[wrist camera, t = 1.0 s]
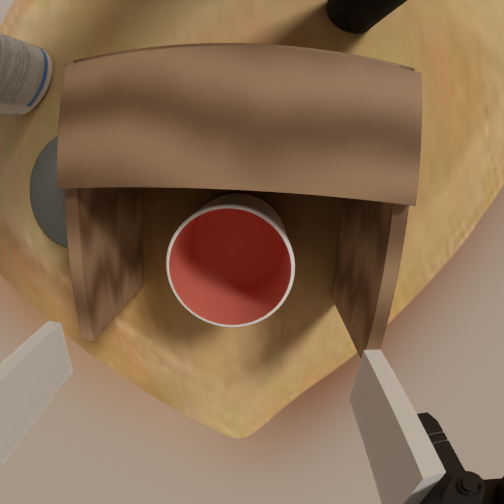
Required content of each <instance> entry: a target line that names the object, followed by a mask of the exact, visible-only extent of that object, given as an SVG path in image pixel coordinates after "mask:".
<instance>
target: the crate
mask: <svg viewBox="0 0 504 504" xmlns="http://www.w3.org/2000/svg"><path fill="white" fill-rule="evenodd" d="M421 125H422V87H421V73H419V72H415V71H414V69H413V68H410V67H406V66H402V65H398V64H394V63H390V62H386V61H382V60H378V59H373V58H368V57H363V56H358V55H353V54H347V53H342V52H335V51H329V50H322V49H314V48H306V47H296V46H285V45H272V44H251V43H205V44H184V45H171V46H160V47H150V48H142V49H135V50H128V51H121V52H115V53H109V54H104V55H99V56H94V57H89V58H84V59H80V60H76V61H74V63H73V64H68V65H66V66H65V72H64V79H63V87H62V95H61V104H60V115H59V128H58V148H57V189H63V188H65V210H66V227H67V240H68V251H69V261H70V269H71V277H72V284H73V291H74V298H75V304H76V309H77V315H78V320H79V325H80V330H81V335H82V339H84V340H89V341H95V340H96V339H97V338H98V336H99V335H100V334H101V333H102V332H103V331H104V329H105V328H106V327H107V326H108V325H109V324H110V323H111V321H112V320H113V319H114V318H115V317H116V316H117V315H118V313H119V312H120V311H121V310H122V309H123V308H124V307H125V305H126V304H127V303H128V302H129V301H130V300H131V299H132V298H133V297H134V295H135V294H136V293H137V292H138V291H139V290H140V289H141V288H142V287H143V286H144V273H143V254H142V221H141V187H164V188H204V189H230V190H249V191H266V192H282V193H295V194H308V195H320V196H331V197H342V198H344V200H343V210H342V220H341V229H340V238H339V246H338V254H337V261H336V269H335V276H334V283H333V289H332V296H331V297H332V299H333V301H334V303H335V305H336V307H337V310H338V312H339V314H340V316H341V318H342V320H343V322H344V324H345V326H346V328H347V330H348V332H349V334H350V337H351V339H352V341H353V343H354V345H355V347H356V349H357V351H358V354H359V356H360V358H362V354H363V350H380V348H381V345H382V341H383V337H384V334H385V329H386V326H387V322H388V318H389V314H390V310H391V305H392V301H393V296H394V292H395V287H396V282H397V277H398V272H399V267H400V261H401V256H402V250H403V244H404V237H405V231H406V224H407V216H408V209H409V205H411V206H416V198H417V189H418V178H419V166H420V150H421Z"/></svg>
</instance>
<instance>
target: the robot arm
mask: <svg viewBox="0 0 504 504" xmlns="http://www.w3.org/2000/svg"><path fill="white" fill-rule="evenodd" d="M72 373H73V368H72V365H71V361H70V357H69V354H68V350H67V346H66V342H65V338H64V333H63V329H62V324H61V323H57V322H53V321H48V322H47V323H46V324H44V325H43V326H42V327H41V328H40V329H39V330H37V331H36V332H35V333H34V334H33V335H32V336H31V337H30V338H28V339H27V340H26V341H25V342H24V343H23V344H21V345H20V346H19V347H18V348H17V349H16V350H15V351H14V352H13V353H11V354H10V355H9V356H8V357H7V358H6V359H5V360H4V361H3V362H2V363H1V364H0V461H1V462H3V463H4V464H5V463H6V461H7V460H8V458H9V457H10V455H11V454H12V452H13V451H14V450H15V448H16V447H17V446H18V444H19V443H20V441H21V440H22V438H23V437H24V436H25V434H26V433H27V432H28V430H29V429H30V428H31V426H32V425H33V424H34V422H35V421H36V420H37V418H38V417H39V415H40V414H41V413H42V412H43V410H44V409H45V407H46V406H47V405H48V404H49V402H50V401H51V400H52V398H53V397H54V396H55V395H56V393H57V392H58V391H59V389H60V388H61V387H62V386H63V384H64V383H65V382H66V381H67V379H68V378H69V377H70V376H71V374H72ZM350 402H351V405H352V408H353V411H354V414H355V417H356V421H357V424H358V427H359V430H360V433H361V436H362V439H363V442H364V446H365V449H366V452H367V455H368V458H369V462H370V465H371V468H372V472H373V475H374V478H375V482H376V485H377V488H378V492H379V496H380V499H381V502H382V504H504V476H503V478H501V479H488V480H483V479H481V477H480V476H479V475H477V474H475V473H473V472H469V471H465V470H464V468H463V466H462V465H461V463H460V461H459V459H458V457H457V455H456V453H455V452H454V450H453V448H452V446H451V445H450V442H449V441H447V437H446V436H445V434H444V433H443V430H442V428H441V427H440V425H439V423H438V421H437V420H436V419H434V418H433V417H432V416H431V415H430V414H429V413H420V414H416V412H415V411H414V408H413V407H412V405H411V403H410V401H409V399H408V397H407V396H406V394H405V392H404V390H403V388H402V387H401V385H400V383H399V381H398V379H397V378H396V376H395V374H394V372H393V371H392V369H391V367H390V365H389V364H388V362H387V360H386V358H385V357H384V355H383V353H382V351H381V350H363V354H362V358H361V362H360V366H359V369H358V373H357V377H356V380H355V383H354V387H353V390H352V393H351V397H350Z"/></svg>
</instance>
